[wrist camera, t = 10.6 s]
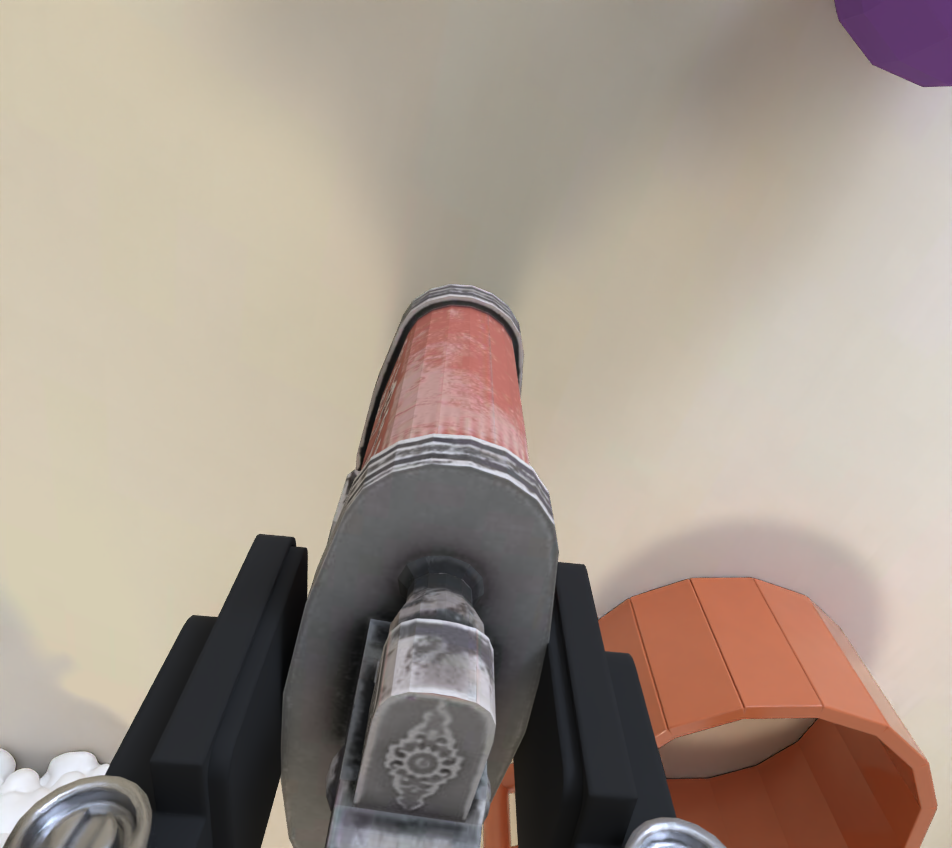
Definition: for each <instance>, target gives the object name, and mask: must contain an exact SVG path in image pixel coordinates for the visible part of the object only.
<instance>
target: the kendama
mask: <svg viewBox="0 0 952 848" xmlns="http://www.w3.org/2000/svg"><path fill="white" fill-rule="evenodd" d="M834 1H835V7H836V12H837V15H838V19H839V22H840V23H841V24H842V26H843V27H844V28H845V29H846V31H847V32H848V33H849V35H850V36H851V37H852V39H853V40H854V41H855V43H856V44H857V45H858V47H859V48H860V49H861V50H862V52H863V53H864V54H865V56H866V57H867V58H868V60H869V61H870V62H871V64H872V65H874V66H877V67H879V68H881V69H883V70H886V71H888V72H890V73H892V74H895V75H897V76H899V77H902V78H904V79H906V80H908V81H911V82H913V83H915V84H917V85H920V86H922V87H938V86H952V0H834Z"/></svg>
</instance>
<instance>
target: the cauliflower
mask: <svg viewBox="0 0 952 848" xmlns="http://www.w3.org/2000/svg"><path fill="white" fill-rule="evenodd" d="M109 766H110V764H103V765H100V764H99V763H98V762H97V759H96V757H95V756H94V755H93V754H92V753H90V752H87V751H84V752H67V753H64V754H61V755H59V756H57V757H55V758H53V759H52V760H51V762H50V764H49V767H48V771H47V773H46V774H45V775H44V776H43V777H42V778H40V779H39V775H38V774H37V772H35V771H34V770H32V769H30V768H23V769H19V770H17V771H15V767H16V763H15V760H14V758H13V757H12V756H11V754H10V753H9V752H7V751H6V750H3V749H1V748H0V848H3V846H4V844H5V842H6V840H7V838H8V836H9V835H10V833H11V832H12V830H13V828H14V827H15V825H16V823H17V822H18V820H19V819H20V818H21V817H22V816H23V815H24V814H25V813H26V812H27V811H28V810H29V809H30V808H31V807H32V806H33V805H34V804H35V803H36V802H37V801H39V800H40V799H42V798H43V797H45V796H46V795H48V794H49V793H51V792H52V791H54V790H55V789H57V788H59V787H61V786H64V785H66V784H68V783H71V782H73V781H76V780H78V779H82V778H87V777H93V776H99V775H105V773H106V772H107V770H108V768H109ZM14 771H15V772H14Z"/></svg>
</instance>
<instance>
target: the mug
mask: <svg viewBox="0 0 952 848" xmlns="http://www.w3.org/2000/svg"><path fill="white" fill-rule="evenodd" d="M598 622H599V627H600V631H601V635H602V640H603V644H604V649H605V651H610V652H621V653H629V654H630V655H631V656H632V658H633V660H634V663H635V666H636V669H637V673H638V677H639V680H640V684H641V688H642V692H643V695H644V699H645V703H646V706H647V710H648V714H649V717H650V721H651V725H652V728H653V732H654V736H655V740H656V743H657V747H658V749H659V748H660V747H662V746H663V745H665V744H667V743H668V742H670V741H671V740H673V739H675V738H677V737H681V736H684V735H688V734H691V733H695V732H698V731H702V730H706V729H709V728H713V727H716V726H720V725H723V724H727V723H731V722H734V721H738V720H741V719H767V718H818V719H817V720H816V721H815V723H814V724H813V725H812V726H811V727H810V728H809V729H808V730H807V732H806V733H805V734H804V735H803V736H802V737H801V738H800V740H799V741H798V742H796V743H795V744H793V745H791V746H789V747H788V748H786V749H784V750H782V751H781V752H779V753H777V754H776V755H774V756H772V757H770V758H769V759H767V760H765V761H764V762H762V763H760V764H758V765H757V766H753V767H750V768H746V769H742V770H739V771H735V772H731V773H727V774H724V775H720V776H716V777H712V778H709V779H666V780H667V784H668V788H669V791H670V795H671V799H672V802H673V806H674V810H675V813H676V817H677V818H680V819H683V820H685V821H688V822H691V823H694V824H697V825H699V826H700V827H702V828H703V829H705V830H706V831H708V832H709V833H711V834H713V835H714V836H716V837H717V838H718V839H719V840H720V841H721V842H722V843H723V845H724V846H725V847H726V848H920V846H921V844H922V842H923V839H924V837H925V835H926V833H927V830H928V828H929V826H930V824H931V821H932V819H933V817H934V815H935V812H936V810H937V800H936V795H935V790H934V786H933V781H932V776H931V771H930V766H929V762H928V761H927V759H926V757H925V756H924V754H923V753H922V751H921V750H920V748H919V747H918V745H917V744H916V742H915V741H914V739H913V738H912V736H911V735H910V733H909V732H908V730H907V729H906V727H905V726H904V724H903V722H902V721H901V719H900V718H899V716H898V715H897V713H896V712H895V710H894V709H893V707H892V706H891V704H890V703H889V701H888V700H887V698H886V697H885V695H884V694H883V692H882V691H881V689H880V688H879V686H878V684H877V683H876V681H875V680H874V678H873V677H872V675H871V674H870V672H869V671H868V669H867V668H866V666H865V665H864V663H863V662H862V660H861V659H860V657H859V656H858V654H857V653H856V651H855V650H854V648H853V646H852V645H851V643H850V642H849V640H848V639H847V637H846V636H845V634H844V633H843V631H842V630H841V628H840V627H839V626H838V625H837V624H836V623H835V622H833V621H832V620H831V619H830V618H829V617H828V616H827V615H826V614H825V613H824V612H823V611H822V610H821V609H820V608H819V607H818V606H817V605H816V604H815V603H814V602H813V601H812V600H811V599H810V598H809V597H806V596H805V595H803V594H800V593H797V592H794V591H791V590H788V589H785V588H782V587H779V586H776V585H773V584H770V583H767V582H764V581H761V580H759V579H756V578H751V577H744V578H690V580H689V579H686V580H682V581H679V582H676V583H673V584H670V585H667V586H664V587H661V588H658V589H655V590H651V591H648V592H645V593H642V594H639V595H636V596H633V597H631V598H630V599H627V600H625V601H624V602H623V603H621V604H620V605H618V606H617V607H616V608H614V609H613V610H612V611H610V612H609V613H607V614H606V615H605V616H603V617H602V618H601V619H599V620H598ZM512 793H515V780H514V763H511V764H510V765H509V767H508V769H507V771H506V773H505V775H504V778H503V780H502V782H501V784H500V786H499V788H498V790H497V792H496V794H495V796H494V798H493V800H492V802H491V804H490V808H489V813H488V816H487V817H486V819H485V821H484V822H483V848H518V845H515V846H511V826H510V804H509V794H512Z"/></svg>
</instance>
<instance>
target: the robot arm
mask: <svg viewBox="0 0 952 848" xmlns="http://www.w3.org/2000/svg"><path fill="white" fill-rule="evenodd" d="M307 571H308V552H307V548H303V547H296V541H295V538H294V537H286V536H275V535H265V534H259V535H257V536H256V538H255V540H254V542H253V544H252V546H251V548H250V550H249V552H248V555H247V557H246V559H245V561H244V563H243V565H242V567H241V569H240V571H239V574H238V576H237V578H236V580H235V582H234V584H233V586H232V588H231V590H230V593H229V595H228V597H227V599H226V601H225V603H224V605H223V607H222V609H221V612H220V614H219V616H218V617H209V616H198V615H192V616H191V617H190V618H189V619H188V620H187V621H186V623H185V624H184V626H183V628H182V630H181V631H180V633H179V635H178V637H177V639H176V641H175V643H174V645H173V647H172V649H171V650H170V652H169V654H168V656H167V658H166V660H165V662H164V664H163V666H162V667H161V669H160V671H159V673H158V675H157V677H156V679H155V681H154V683H153V684H152V686H151V688H150V690H149V692H148V694H147V696H146V698H145V700H144V702H143V703H142V705H141V707H140V709H139V711H138V713H137V715H136V717H135V719H134V720H133V722H132V724H131V726H130V728H129V730H128V732H127V734H126V736H125V737H124V739H123V741H122V743H121V745H120V747H119V749H118V751H117V753H116V754H115V756H114V758H113V760H112V762H111V764H110V766H109V768H108V770H107V772H106V773H105V775H99V776H93V777H87V778H82V779H78V780H76V781H73V782H71V783H68V784H66V785H64V786H61V787H59V788H57V789H55V790H54V791H52V792H51V793H49V794H48V795H46V796H45V797H43V798H42V799H40V800H39V801H37V802H36V803H35V804H34V805H33V806H32V807H31V808H30V809H29V810H28V811H27V812H26V813H25V814H24V815H23V816H22V817H21V818H20V819H19V820H18V822H17V823H16V825H15V827H14V828H13V830H12V832H11V833H10V835H9V836H8V838H7V840H6V842H5V844H4V846H3V848H261V845H262V841H263V837H264V834H265V830H266V827H267V823H268V819H269V816H270V812H271V809H272V805H273V801H274V798H275V794H276V791H277V787H278V783H279V780H280V776H281V730H282V706H283V692H284V688H285V684H286V680H287V676H288V672H289V668H290V664H291V660H292V656H293V652H294V648H295V644H296V640H297V636H298V632H299V628H300V624H301V620H302V616H303V612H304V608H305V604H306V601H307ZM513 762H514V780H515V799H516V817H517V835H518V848H726V847H725V846H724V845H723V843H722V842H721V841H720V840H719V839H718V838H717V837H716V836H714V835H713V834H711V833H709V832H708V831H706V830H705V829H703V828H702V827H700V826H699V825H697V824H694V823H691V822H688V821H685V820H683V819H680V818H677V817H676V813H675V810H674V806H673V802H672V799H671V795H670V791H669V788H668V784H667V780H666V777H665V773H664V769H663V765H662V762H661V758H660V754H659V751H658V747H657V743H656V740H655V736H654V732H653V728H652V725H651V721H650V717H649V714H648V710H647V706H646V703H645V699H644V695H643V692H642V688H641V684H640V680H639V677H638V673H637V669H636V666H635V663H634V660H633V658H632V656H631V655H630V654H629V653H621V652H610V651H605V649H604V644H603V640H602V635H601V631H600V627H599V622H598V618H597V613H596V609H595V604H594V600H593V595H592V591H591V587H590V582H589V578H588V573H587V569H586V566H585V565H584V564H573V563H563V562H558V564H557V574H556V583H555V592H554V601H553V610H552V619H551V628H550V637H549V643H547V648H546V652H545V657H544V661H543V666H542V671H541V675H540V680H539V684H538V688H537V692H536V695H535V699H534V703H533V706H532V710H531V714H530V717H529V721H528V725H527V728H526V732H525V734H524V736H523V738H522V740H521V743H520V745H519V747H518V749H517V751H516V753H515V755H514V757H513Z"/></svg>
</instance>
